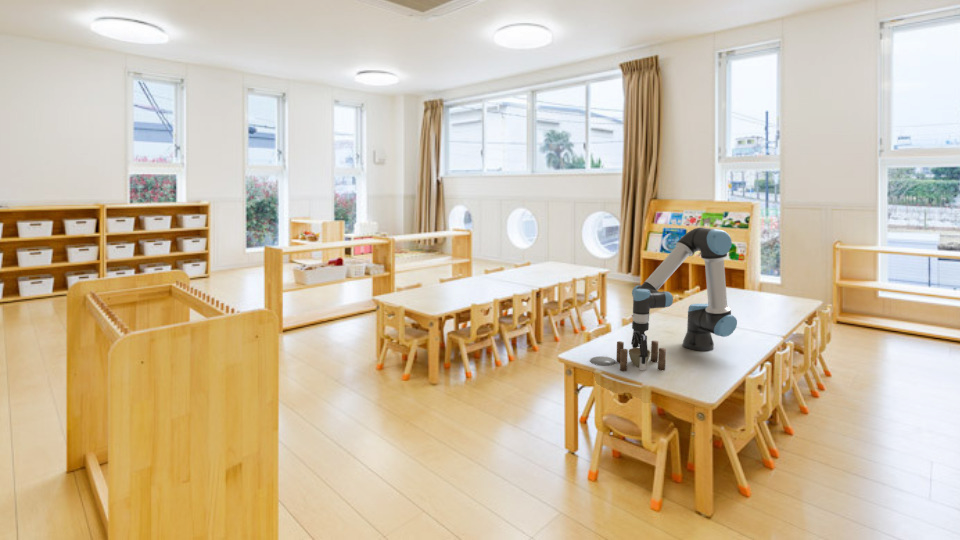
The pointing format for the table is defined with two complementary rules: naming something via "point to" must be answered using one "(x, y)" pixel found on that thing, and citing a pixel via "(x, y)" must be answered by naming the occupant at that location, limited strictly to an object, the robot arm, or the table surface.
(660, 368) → the posts
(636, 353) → the olive grey bowl
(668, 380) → the table surface
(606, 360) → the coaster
